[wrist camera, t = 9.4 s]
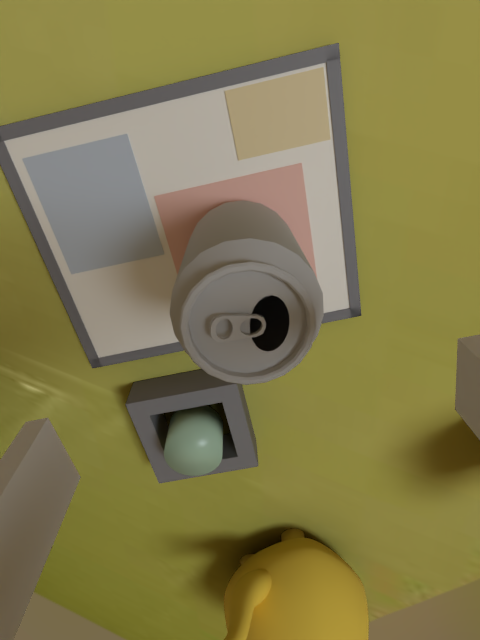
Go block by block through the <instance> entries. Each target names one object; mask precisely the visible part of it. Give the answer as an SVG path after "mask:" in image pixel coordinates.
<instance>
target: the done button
mask: <svg viewBox="0 0 480 640" xmlns="http://www.w3.org/2000/svg"><path fill="white" fill-rule="evenodd" d="M222 454H223V421H222V418H221V416H220V415H219V414H218V413H217V412H216V411H215V410H214V409H212V408H210V407H208V406H205V405H204V406H199V407H194V408H188V409H183V410H177V411H175V412H174V414H173V415H172V417H171V419H170V423H169V429H168V434H167V439H166V444H165V449H164V458H165V461H166V463H167V464H168V465H169V467H170V468H172V469H173V470H174V471H176V472H178V473H180V474H184V475H188V476H200V475H204V474H207V473H210V472H212V471H213V470H215V469H216V468H217V467H218V466H219V464H220V463H221V460H222Z"/></svg>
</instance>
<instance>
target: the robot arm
mask: <svg viewBox="0 0 480 640" xmlns="http://www.w3.org/2000/svg"><path fill="white" fill-rule="evenodd" d="M455 410H456V411H457V412H458V414H459V415H460V416H461V417H462V419H463V420H464V421H465V422H466V424H467V425H468V426H469V427H470V429H471V430H472V431H473V432H474V434H475V435H476V436H477V438H478V439H479V440H480V335H475V336H470V337H465V338H459V339H458V348H457V373H456V399H455ZM79 480H80V475H79V473H78V472H77V470H76V468H75V466H74V464H73V462H72V461H71V459H70V457H69V455H68V453H67V452H66V450H65V448H64V446H63V444H62V442H61V441H60V439H59V437H58V435H57V433H56V431H55V430H54V428H53V426H52V424H51V422H50V420H49V419H48V418H44V419H39V420H34V421H29V422H25V424H24V425H23V427H22V428H21V430H20V431H19V433H18V434H17V436H16V437H15V439H14V440H13V442H12V443H11V445H10V446H9V448H8V449H7V451H6V452H5V454H4V455H3V457H2V458H1V460H0V640H14V638H15V635H16V633H17V630H18V628H19V626H20V623H21V621H22V618H23V616H24V613H25V611H26V608H27V606H28V603H29V601H30V599H31V596H32V594H33V591H34V589H35V587H36V584H37V582H38V579H39V577H40V574H41V572H42V570H43V567H44V565H45V562H46V560H47V557H48V555H49V553H50V550H51V548H52V545H53V543H54V540H55V538H56V536H57V533H58V531H59V528H60V526H61V523H62V521H63V519H64V516H65V514H66V511H67V509H68V506H69V504H70V502H71V499H72V497H73V494H74V492H75V489H76V487H77V485H78V482H79Z"/></svg>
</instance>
